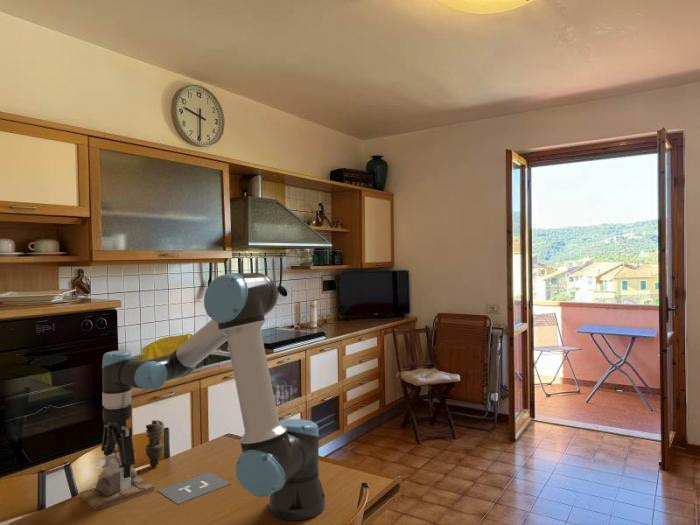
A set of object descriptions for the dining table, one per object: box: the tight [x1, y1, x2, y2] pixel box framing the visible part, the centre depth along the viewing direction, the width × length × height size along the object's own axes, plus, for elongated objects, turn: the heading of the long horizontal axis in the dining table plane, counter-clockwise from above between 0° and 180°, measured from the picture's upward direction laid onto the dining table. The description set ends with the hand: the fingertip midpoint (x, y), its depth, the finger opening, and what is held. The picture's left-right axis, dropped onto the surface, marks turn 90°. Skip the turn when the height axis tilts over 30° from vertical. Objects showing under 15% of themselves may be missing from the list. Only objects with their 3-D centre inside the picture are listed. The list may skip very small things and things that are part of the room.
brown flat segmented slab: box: [79, 474, 155, 512], centre depth 142 cm, size 12×16×1 cm
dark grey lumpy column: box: [145, 419, 165, 468], centre depth 160 cm, size 6×6×15 cm
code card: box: [157, 471, 232, 505], centre depth 145 cm, size 12×17×1 cm
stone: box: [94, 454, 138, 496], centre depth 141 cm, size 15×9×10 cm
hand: (117, 482), depth 142 cm, fingers open, 10 cm apart
